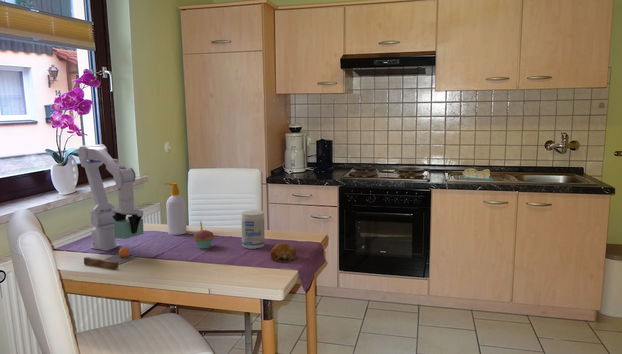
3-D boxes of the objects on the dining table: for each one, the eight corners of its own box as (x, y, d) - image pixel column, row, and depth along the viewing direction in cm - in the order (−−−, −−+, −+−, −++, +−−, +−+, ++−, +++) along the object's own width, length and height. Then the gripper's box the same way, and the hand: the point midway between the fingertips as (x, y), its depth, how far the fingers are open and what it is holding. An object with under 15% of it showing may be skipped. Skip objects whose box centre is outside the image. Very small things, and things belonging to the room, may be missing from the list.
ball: (117, 246, 186) (124, 247, 189) (115, 256, 185) (122, 257, 188) (125, 247, 184) (132, 248, 188) (123, 257, 183) (130, 258, 187)
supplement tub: (245, 250, 194) (244, 215, 192) (239, 244, 203) (238, 211, 201) (267, 247, 198) (267, 213, 196) (261, 241, 206) (260, 209, 204)
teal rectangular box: (114, 237, 185) (113, 222, 185) (132, 232, 194) (132, 217, 194) (125, 239, 183) (124, 223, 182) (143, 233, 192) (143, 218, 191)
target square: (97, 262, 181) (97, 261, 181) (117, 254, 190) (117, 254, 190) (117, 265, 177) (117, 264, 177) (136, 257, 186) (136, 257, 186)
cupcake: (209, 250, 195) (207, 222, 193) (190, 249, 196) (188, 221, 195) (217, 244, 203) (216, 217, 201) (198, 243, 205) (197, 216, 203)
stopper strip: (84, 264, 179) (83, 257, 179) (86, 263, 180) (86, 256, 180) (115, 269, 173) (115, 262, 172) (118, 268, 174) (117, 261, 173)
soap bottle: (171, 230, 228) (168, 181, 224) (189, 230, 226) (187, 181, 223) (163, 235, 219) (160, 184, 216) (182, 235, 218) (179, 184, 214)
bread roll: (298, 266, 186) (300, 245, 188) (289, 262, 177) (292, 241, 179) (274, 263, 189) (277, 243, 191) (265, 260, 180) (268, 239, 182)
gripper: (147, 198, 187) (149, 231, 189) (119, 196, 193) (122, 228, 195) (134, 201, 181) (137, 235, 183) (106, 199, 186) (108, 232, 188)
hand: (128, 232), depth 188 cm, fingers closed on teal rectangular box, 6 cm apart
